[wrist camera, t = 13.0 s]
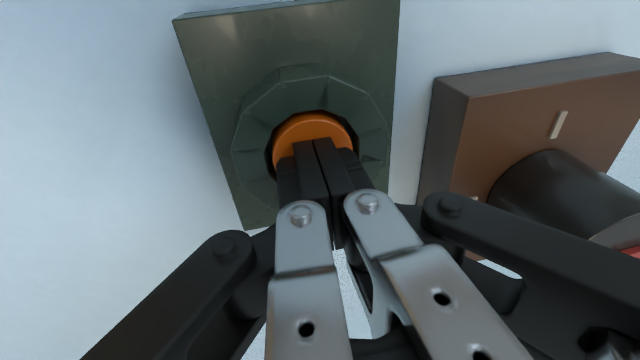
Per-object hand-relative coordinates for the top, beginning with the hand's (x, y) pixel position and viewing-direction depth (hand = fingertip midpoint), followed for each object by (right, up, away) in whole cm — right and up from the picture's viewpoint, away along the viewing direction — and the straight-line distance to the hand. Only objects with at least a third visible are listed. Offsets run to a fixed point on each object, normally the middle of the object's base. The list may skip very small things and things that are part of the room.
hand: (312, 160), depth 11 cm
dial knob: (+12, -1, +5) cm, 13 cm away
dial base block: (+12, +1, +7) cm, 14 cm away
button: (0, +1, +1) cm, 2 cm away
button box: (-1, +2, +3) cm, 4 cm away
